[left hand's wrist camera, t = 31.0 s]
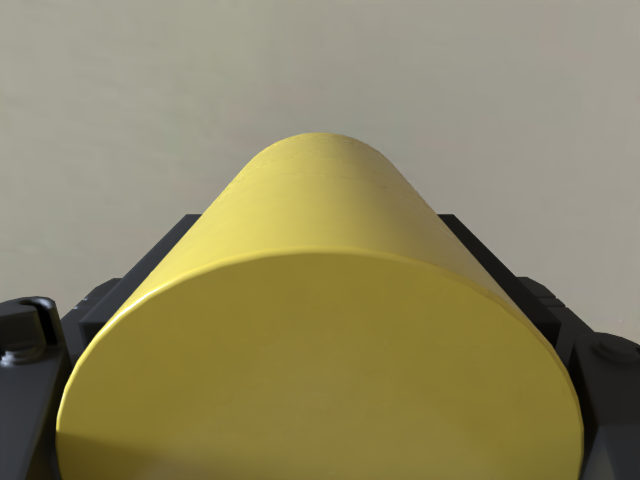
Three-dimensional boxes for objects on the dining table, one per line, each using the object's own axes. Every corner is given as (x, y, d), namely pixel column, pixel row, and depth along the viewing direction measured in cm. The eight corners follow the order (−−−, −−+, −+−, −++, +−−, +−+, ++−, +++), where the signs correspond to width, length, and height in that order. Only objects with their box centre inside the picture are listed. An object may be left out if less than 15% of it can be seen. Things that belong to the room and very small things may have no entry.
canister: (441, 271, 16) (630, 568, 6) (278, 336, 18) (223, 673, 8) (372, 96, 14) (504, 133, 4) (188, 184, 15) (-71, 386, 5)
